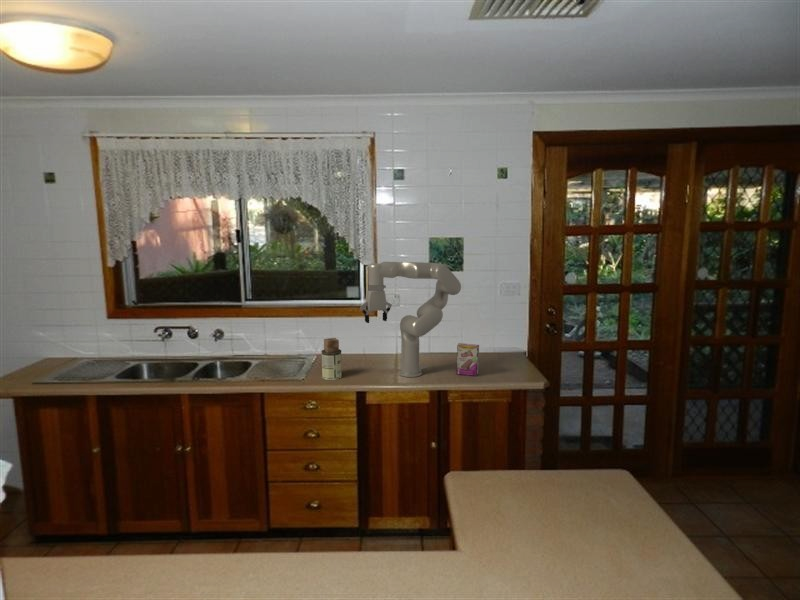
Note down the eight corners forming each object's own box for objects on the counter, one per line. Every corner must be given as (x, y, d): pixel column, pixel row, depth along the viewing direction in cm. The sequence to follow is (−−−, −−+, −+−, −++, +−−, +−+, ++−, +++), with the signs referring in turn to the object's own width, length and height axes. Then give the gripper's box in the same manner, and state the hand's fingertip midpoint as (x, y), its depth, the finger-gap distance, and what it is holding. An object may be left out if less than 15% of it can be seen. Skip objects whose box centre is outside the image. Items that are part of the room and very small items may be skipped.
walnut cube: (334, 348, 268) (334, 337, 267) (338, 351, 263) (338, 340, 262) (324, 350, 265) (323, 338, 264) (327, 352, 260) (327, 341, 259)
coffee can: (324, 373, 272) (324, 348, 269) (343, 374, 271) (343, 348, 268) (319, 379, 262) (319, 353, 259) (339, 380, 261) (339, 353, 258)
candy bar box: (456, 374, 271) (456, 344, 268) (457, 372, 275) (458, 342, 273) (477, 376, 268) (478, 346, 265) (478, 374, 272) (479, 344, 270)
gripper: (388, 286, 262) (388, 318, 265) (357, 288, 254) (357, 321, 257) (394, 288, 256) (394, 321, 259) (363, 290, 248) (363, 324, 251)
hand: (376, 321), depth 258 cm, fingers open, 9 cm apart
